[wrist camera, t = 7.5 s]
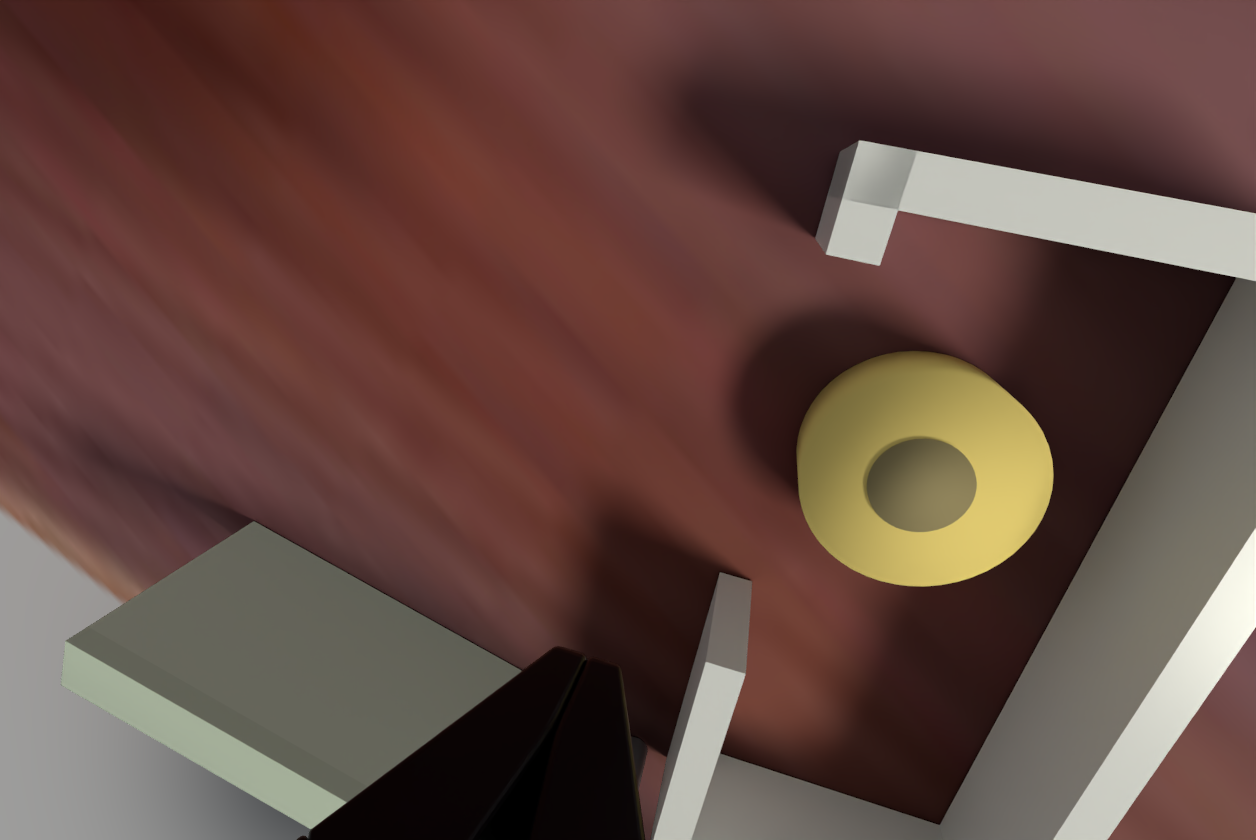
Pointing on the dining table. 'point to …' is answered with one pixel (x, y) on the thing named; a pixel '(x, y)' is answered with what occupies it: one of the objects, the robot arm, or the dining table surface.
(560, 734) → the robot arm
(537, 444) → the dining table surface
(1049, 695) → the white open pen
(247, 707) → the cover
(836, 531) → the cord coil
